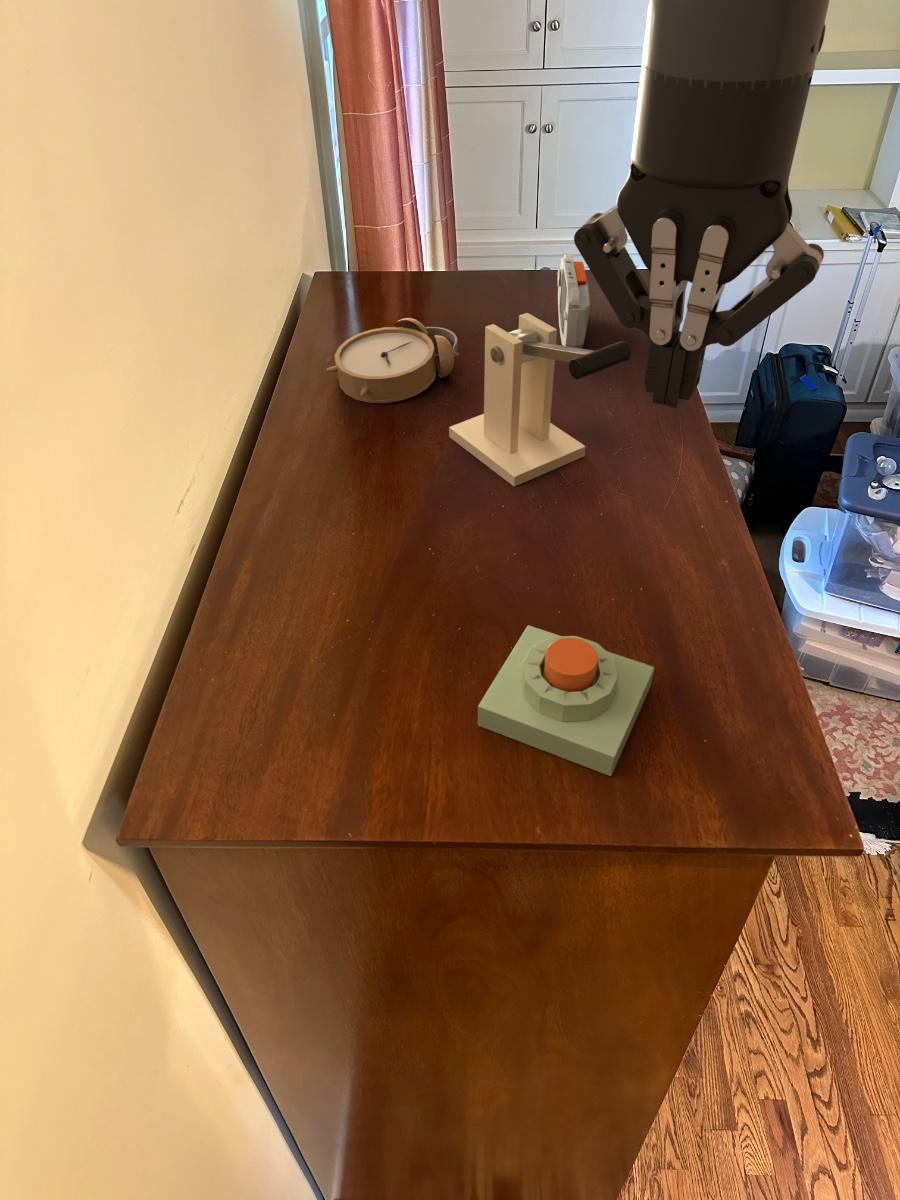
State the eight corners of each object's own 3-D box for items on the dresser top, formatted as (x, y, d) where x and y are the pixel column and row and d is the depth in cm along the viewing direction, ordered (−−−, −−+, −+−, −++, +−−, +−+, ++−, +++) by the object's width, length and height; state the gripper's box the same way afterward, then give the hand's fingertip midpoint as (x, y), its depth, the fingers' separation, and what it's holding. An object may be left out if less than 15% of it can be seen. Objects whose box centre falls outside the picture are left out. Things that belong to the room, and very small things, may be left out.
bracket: (584, 456, 87) (597, 336, 78) (514, 487, 83) (519, 365, 74) (517, 410, 93) (522, 295, 84) (448, 436, 89) (446, 319, 81)
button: (602, 664, 61) (605, 646, 60) (585, 699, 59) (587, 682, 57) (555, 648, 62) (556, 630, 61) (536, 681, 60) (537, 664, 59)
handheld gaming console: (554, 308, 112) (559, 246, 106) (577, 308, 111) (583, 246, 106) (561, 362, 101) (567, 295, 96) (587, 362, 101) (593, 295, 95)
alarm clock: (313, 352, 97) (419, 295, 102) (325, 388, 101) (427, 332, 105) (367, 392, 91) (477, 329, 95) (377, 429, 94) (483, 366, 99)
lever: (632, 365, 73) (630, 337, 72) (583, 385, 71) (580, 355, 70) (535, 349, 83) (532, 324, 82) (489, 365, 81) (486, 339, 80)
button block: (650, 686, 64) (658, 649, 61) (611, 777, 58) (618, 740, 55) (526, 644, 67) (529, 607, 65) (477, 725, 62) (477, 688, 59)
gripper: (558, 60, 38) (539, 406, 50) (875, 85, 34) (772, 458, 46) (612, 29, 43) (583, 350, 55) (895, 47, 39) (797, 393, 50)
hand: (669, 399), depth 50 cm, fingers closed
